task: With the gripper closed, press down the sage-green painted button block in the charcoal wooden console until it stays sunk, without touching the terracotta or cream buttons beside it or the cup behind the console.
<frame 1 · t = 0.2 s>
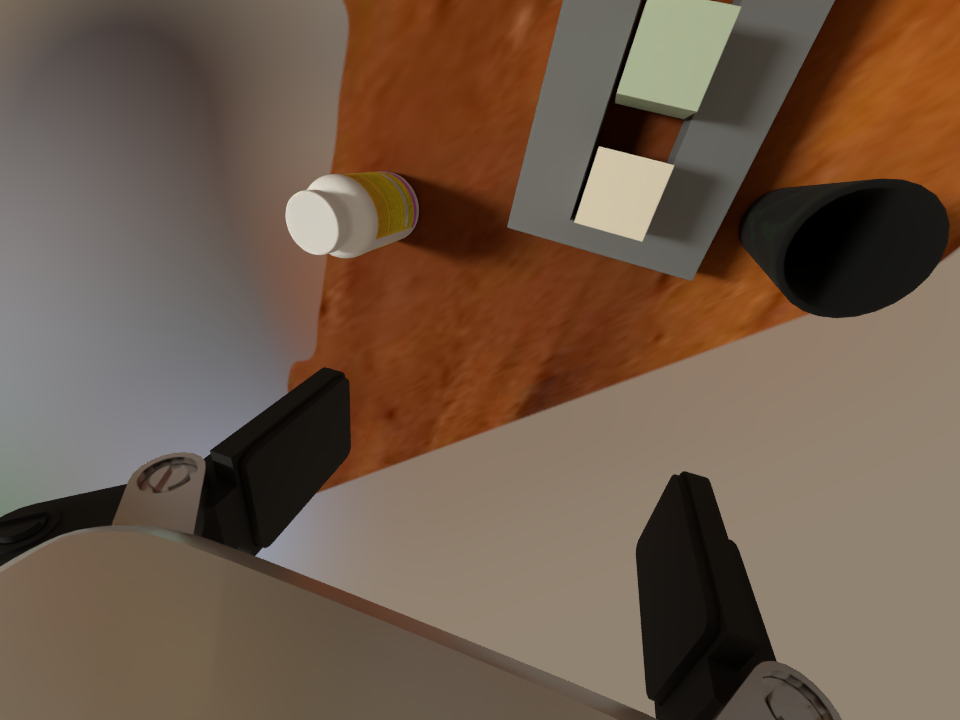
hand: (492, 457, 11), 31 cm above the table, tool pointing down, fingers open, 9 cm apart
supplement bottle: (392, 206, 41), on the table
cup: (776, 224, 33), on the table
console: (658, 78, 31), on the table
green button: (668, 61, 25), point 6 cm above the table, slide at 0.0 cm
cream button: (620, 192, 29), point 6 cm above the table, slide at 0.0 cm
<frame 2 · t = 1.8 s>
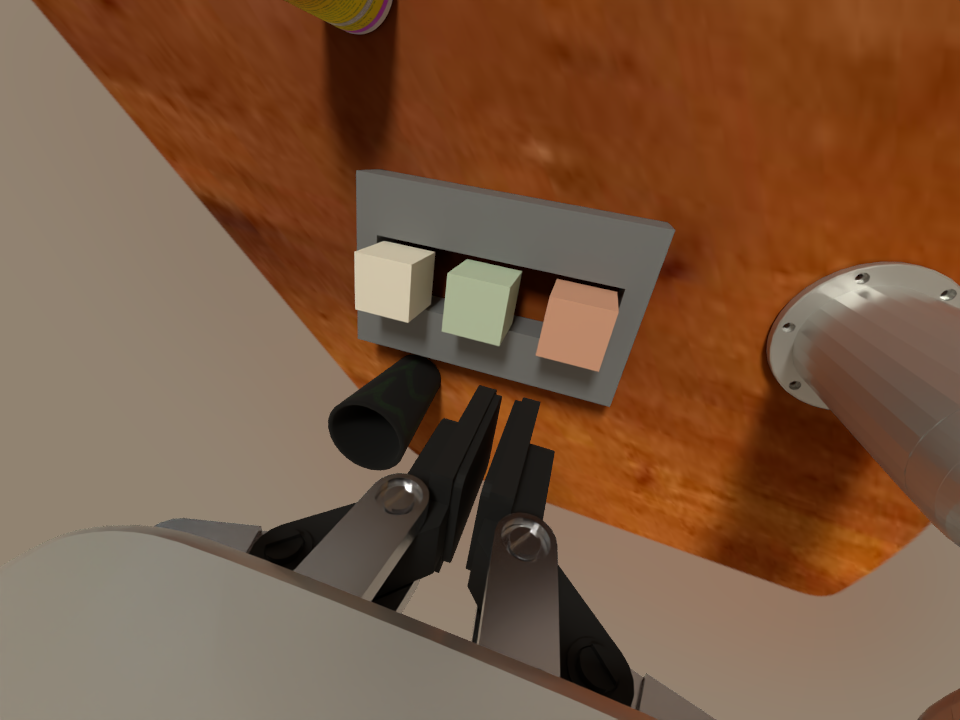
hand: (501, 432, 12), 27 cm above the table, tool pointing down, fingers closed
terracotta button: (577, 323, 32), point 6 cm above the table, slide at 0.0 cm
cup: (419, 375, 46), on the table
console: (499, 281, 38), on the table
green button: (482, 300, 33), point 6 cm above the table, slide at 0.0 cm
cream button: (395, 280, 35), point 6 cm above the table, slide at 0.0 cm
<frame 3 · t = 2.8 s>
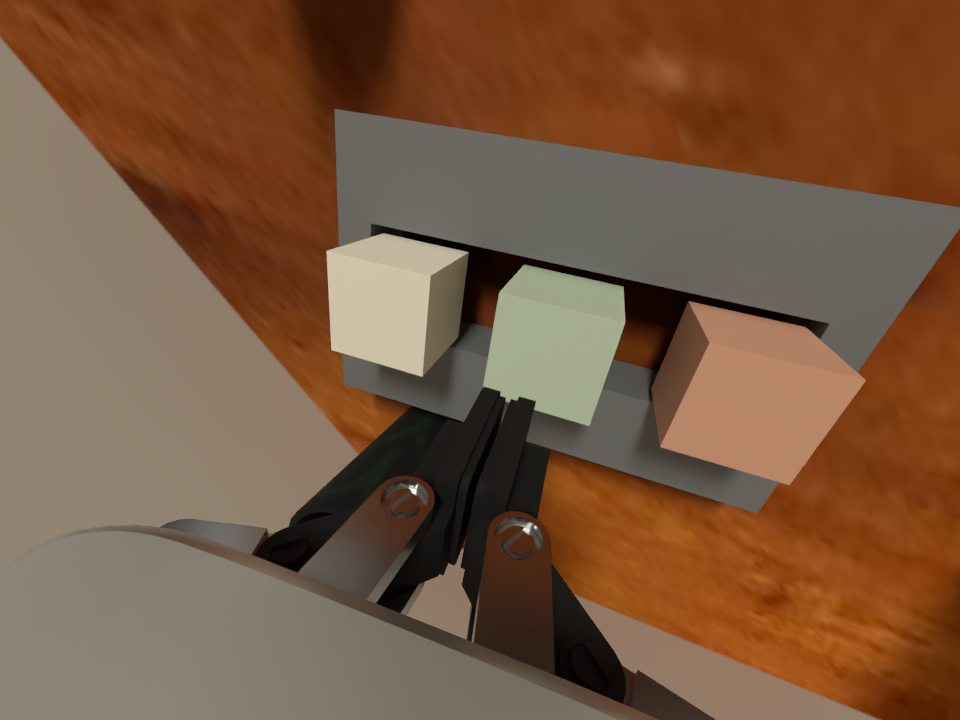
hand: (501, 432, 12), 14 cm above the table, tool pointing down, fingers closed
terracotta button: (734, 385, 17), point 6 cm above the table, slide at 0.0 cm
cup: (435, 430, 32), on the table
console: (567, 300, 24), on the table
green button: (554, 339, 19), point 6 cm above the table, slide at 0.0 cm
cream button: (401, 300, 20), point 6 cm above the table, slide at 0.0 cm
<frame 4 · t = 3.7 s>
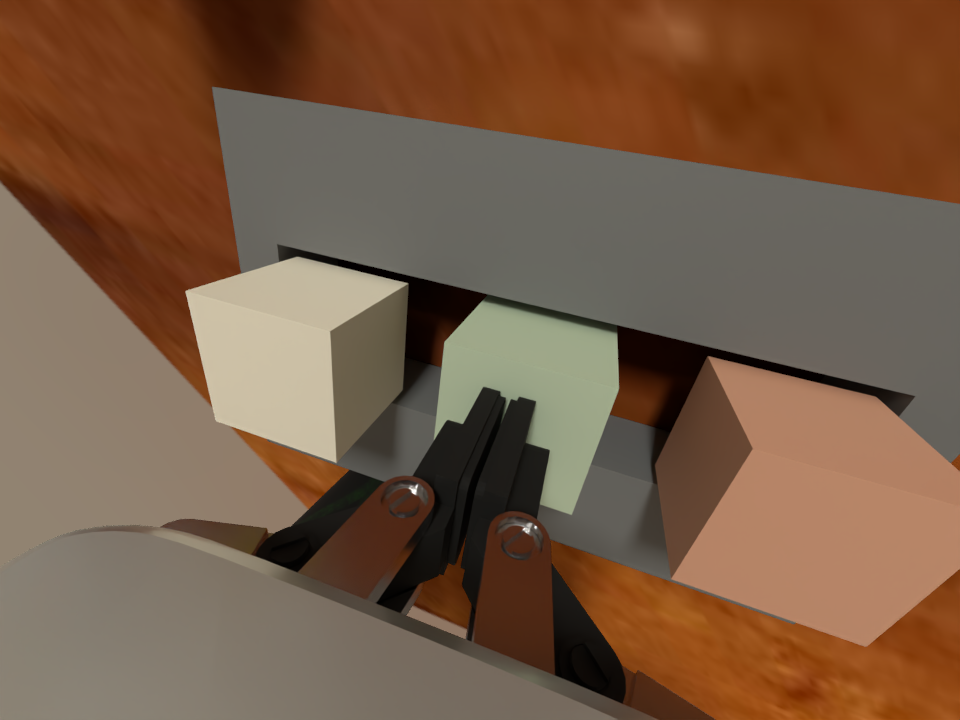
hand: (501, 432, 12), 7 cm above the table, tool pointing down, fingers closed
terracotta button: (777, 484, 12), point 6 cm above the table, slide at 0.0 cm
cup: (392, 485, 26), on the table
console: (545, 340, 19), on the table
green button: (526, 392, 14), point 5 cm above the table, slide at 1.1 cm, touching gripper
cream button: (315, 350, 15), point 6 cm above the table, slide at 0.0 cm
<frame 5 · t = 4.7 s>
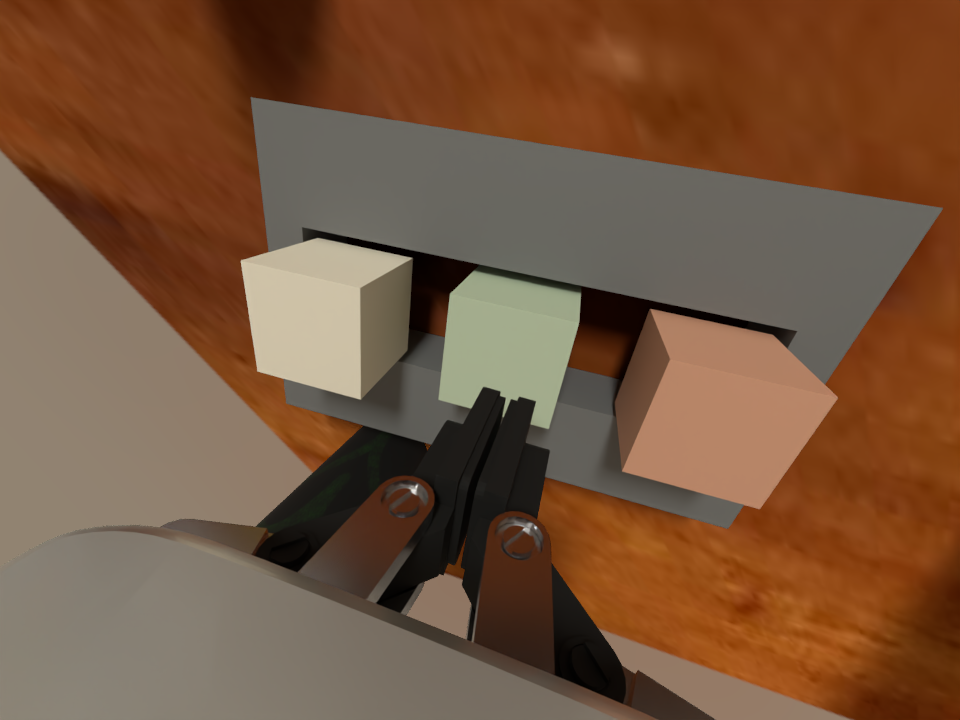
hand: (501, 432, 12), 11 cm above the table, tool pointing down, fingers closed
terracotta button: (700, 400, 16), point 6 cm above the table, slide at 0.0 cm
cup: (393, 447, 30), on the table
console: (526, 307, 22), on the table
green button: (512, 340, 18), point 5 cm above the table, slide at 1.4 cm
cream button: (337, 312, 18), point 6 cm above the table, slide at 0.0 cm
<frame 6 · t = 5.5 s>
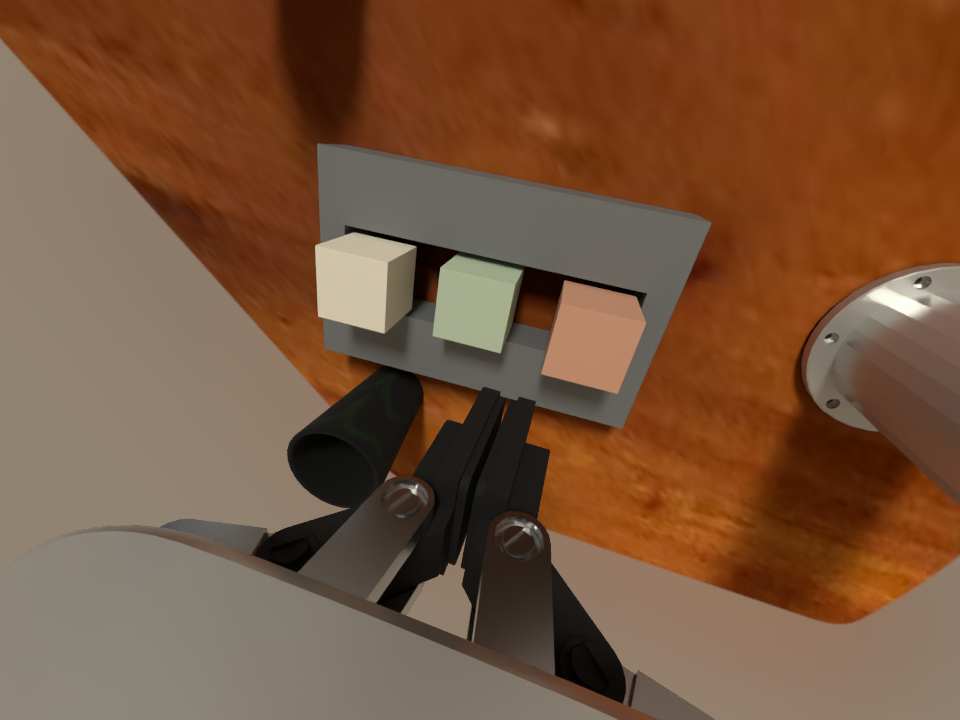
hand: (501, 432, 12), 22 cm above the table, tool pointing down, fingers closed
terracotta button: (589, 334, 27), point 6 cm above the table, slide at 0.0 cm
cup: (398, 388, 40), on the table
console: (492, 282, 33), on the table
green button: (479, 300, 29), point 5 cm above the table, slide at 1.4 cm
cream button: (368, 280, 28), point 6 cm above the table, slide at 0.0 cm
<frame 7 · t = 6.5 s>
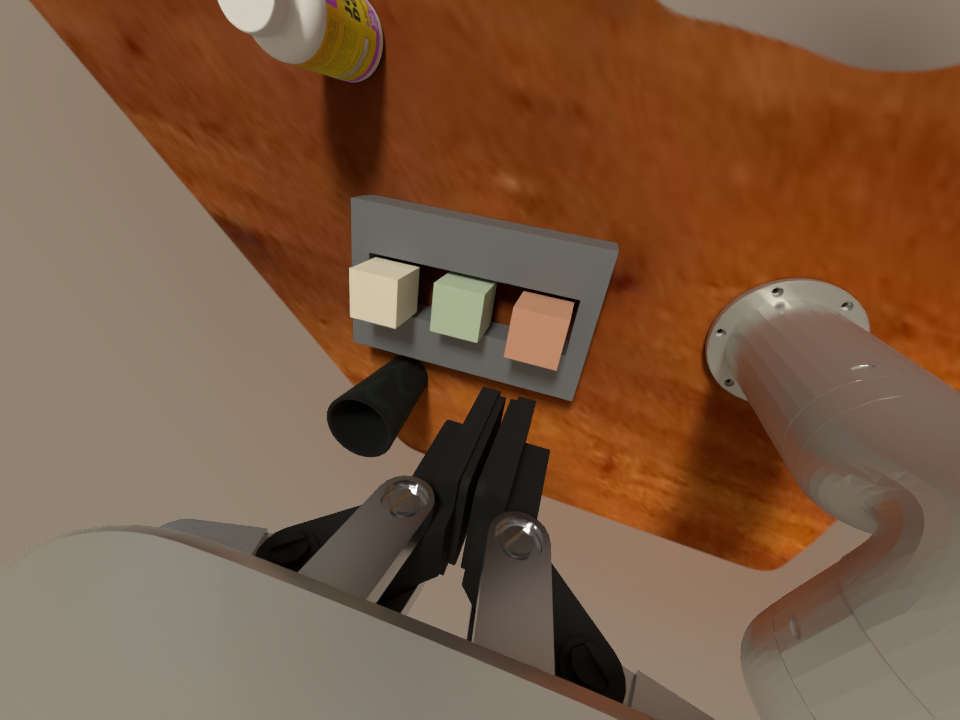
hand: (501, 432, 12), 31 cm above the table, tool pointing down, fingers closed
supplement bottle: (354, 40, 37), on the table
terracotta button: (539, 329, 37), point 6 cm above the table, slide at 0.0 cm
cup: (408, 374, 52), on the table
console: (476, 292, 44), on the table
green button: (464, 305, 40), point 5 cm above the table, slide at 1.4 cm
cream button: (385, 291, 40), point 6 cm above the table, slide at 0.0 cm
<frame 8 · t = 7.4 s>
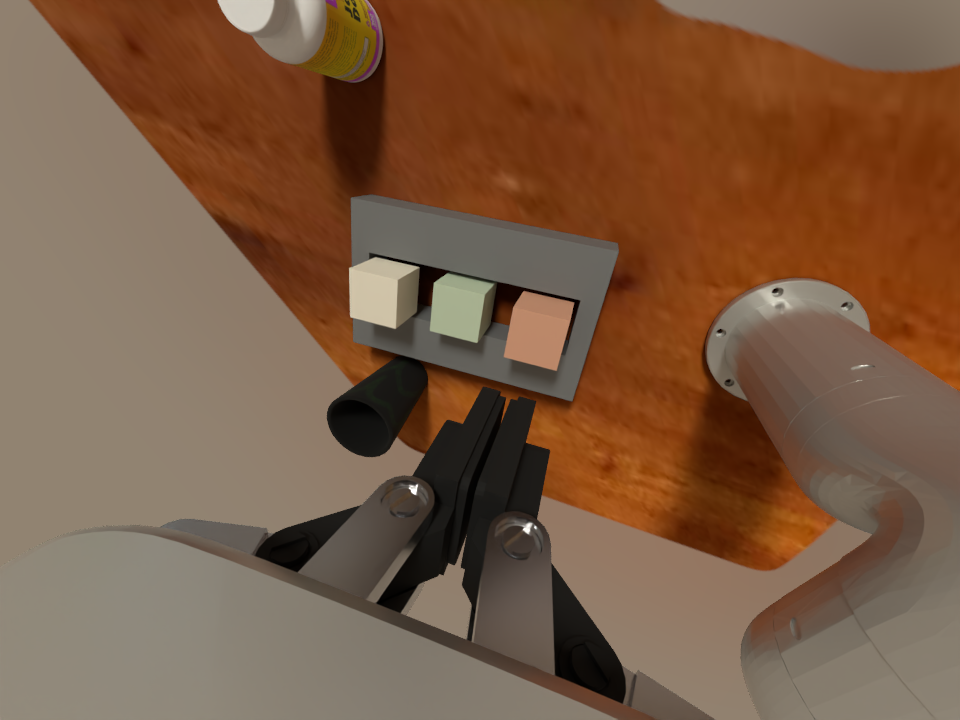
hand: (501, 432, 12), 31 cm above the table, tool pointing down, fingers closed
supplement bottle: (354, 40, 37), on the table
terracotta button: (539, 329, 37), point 6 cm above the table, slide at 0.0 cm
cup: (408, 374, 52), on the table
console: (476, 292, 44), on the table
green button: (464, 305, 40), point 5 cm above the table, slide at 1.4 cm
cream button: (385, 291, 40), point 6 cm above the table, slide at 0.0 cm
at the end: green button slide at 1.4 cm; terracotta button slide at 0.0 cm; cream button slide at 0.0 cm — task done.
